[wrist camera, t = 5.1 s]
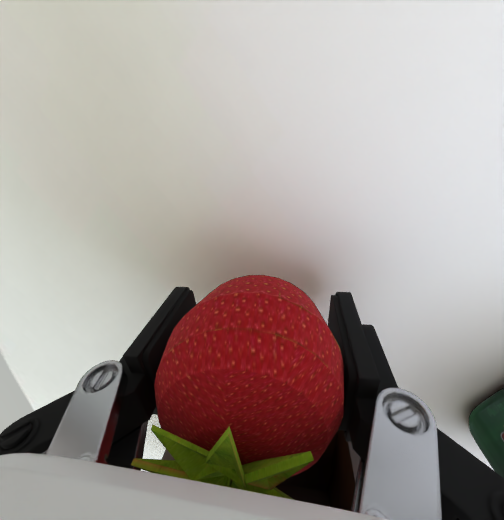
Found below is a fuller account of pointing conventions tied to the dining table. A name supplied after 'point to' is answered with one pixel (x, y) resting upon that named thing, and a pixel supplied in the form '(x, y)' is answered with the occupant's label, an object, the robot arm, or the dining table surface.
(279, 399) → the strawberry
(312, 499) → the shelf
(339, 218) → the dining table surface
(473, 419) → the coffee jar
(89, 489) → the robot arm
